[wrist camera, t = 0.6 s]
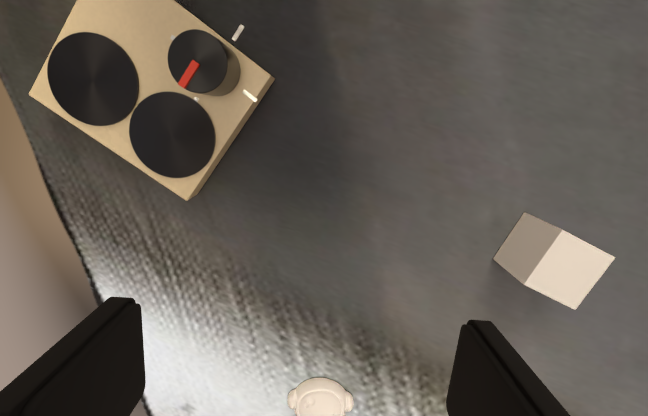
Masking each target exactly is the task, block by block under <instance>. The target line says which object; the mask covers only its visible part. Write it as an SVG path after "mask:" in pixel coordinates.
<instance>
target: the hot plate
mask: <svg viewBox="0 0 648 416" xmlns="http://www.w3.org/2000/svg"><path fill="white" fill-rule="evenodd" d="M244 28H245V27H244V26H243V25H241V24H240V26H239V28H238V29H237V31H236V32H235V34H234V36H233V37H232V39H233V40H234V41H235V42H236V40H237V39H238V37H239V35H240V34H241V32H242V31H243V29H244ZM191 29H199V30H203V31H206V32H208V33H210V34H212V35H213V36H215V37H216V38H217V39H219V40H220V41H221V42H223V43H224V44H225V45H227V46H228V47H229V48H230V49H231V50H232V51H233V52H234V53H235V54H236V56H237V58H238V60H239V63H240V68H241V74H240V79H239V82H238V84H237V86H236V87H235V88H234V89H233V90H232V91H231V92H230V93H228V94H226V95H223V96H210V95H204V94H199V93H194V92H190V91H188V90H186V89H184V88H182V87H181V86H180V85H178V83H177V82H176V81H175V79H174V78H173V76H172V75H171V72H170V70H169V66H168V50H169V47H170V45H171V43H172V41H173V40H174V39H175V37H176V36H178V35H179V34H180V33H182V32H184V31H186V30H191ZM78 32H92V33H97V34H100V35H103V36H105V37H107V38H109V39H111V40H113V41H114V42H116V43H117V44H118V45H119V46H121V47H122V48H123V49H124V50H125V51H126V53H127V54H128V55H129V57H130V58H131V60H132V62H133V64H134V66H135V68H136V71H137V74H138V78H139V95H138V100H137V103H136V105H135V107H134V109H133V110H132V112H131V113H130V114H129V115H128V116H127V117H126V118H125V119H123V120H122V121H120V122H118V123H116V124H113V125H108V126H94V125H89V124H85V123H83V122H80V121H78V120H77V119H75V118H73V117H72V116H70V115H69V114H68V113H67V112H66V111H65V110H64V109H63V108H62V107H61V106H60V105H59V104H58V102H57V101H56V99H55V97H54V96H53V94H52V91H51V89H50V86H49V82H48V76H47V67H48V61H49V57H50V55H51V52H52V50H53V49H54V47H55V46H56V45H57V44H58V42H60V41H61V40H62V39H63V38H65V37H67V36H69V35H71V34H74V33H78ZM52 50H51V52H50V54H49V56H48V58H47V60H46V61H45V63H44V65H43V67H42V69H41V71H40V73H39V75H38V77H37V79H36V81H35V83H34V85H33V87H32V89H31V91H30V93H29V95H30V96H31V97H33V98H34V99H36V100H37V101H39V102H40V103H42V104H43V105H45V106H46V107H48V108H49V109H51V110H52V111H54V112H55V113H57V114H58V115H60V116H61V117H63V118H64V119H66V120H67V121H69V122H70V123H71V124H73V125H74V126H76V127H77V128H79V129H80V130H82V131H83V132H85V133H86V134H88V135H89V136H91V137H92V138H94V139H95V140H97V141H98V142H100V143H101V144H103V145H104V146H106V147H107V148H109V149H110V150H112V151H113V152H115V153H116V154H118V155H119V156H121V157H122V158H124V159H125V160H127V161H128V162H130V163H131V164H133V165H134V166H136V167H137V168H139V169H140V170H141V171H143V172H144V173H146V174H147V175H149V176H150V177H152V178H153V179H155V180H156V181H158V182H159V183H161V184H162V185H164V186H165V187H167V188H168V189H170V190H171V191H173V192H174V193H176V194H177V195H179V196H180V197H182V198H183V199H185V200H186V201H187V200H189V199H191V198H192V197H194V196H195V195H197V194H198V193H199V191H200V190H201V188H202V187H203V185H204V184H205V182H206V181H207V179H208V178H209V176H210V175H211V173H212V172H213V170H214V169H215V167H216V166H217V165H218V163H219V162H220V160H221V159H222V157H223V156H224V154H225V153H226V151H227V150H228V148H229V147H230V145H231V144H232V142H233V141H234V139H235V138H236V136H237V135H238V133H239V132H240V130H241V129H242V127H243V126H244V124H245V123H246V122H247V120H248V119H249V117H250V116H251V114H252V113H253V111H254V110H255V108H256V107H257V105H258V104H259V102H260V101H261V99H262V98H263V96H264V95H265V93H266V92H267V90H268V89H269V87H270V86H271V84H272V83H273V81H274V80H275V78H274V77H272V76H271V75H270V74H269V73H267V72H266V71H265V70H263V69H262V68H261V67H260V66H258V65H257V64H256V63H254V62H253V61H252V60H251V59H249V58H248V57H247V56H245V55H244V54H243V53H242V52H240V51H239V50H238V49H236V48H235V47H234V46H232V45H231V44H230V43H229V42H227V41H226V40H225V39H223V38H222V37H221V36H220V35H218V34H217V33H216V32H214V31H213V30H212V29H211V28H209V27H208V26H207V25H205V24H204V23H203V22H202V21H200V20H199V19H198V18H196V17H195V16H194V15H193V14H191V13H190V12H189V11H187V10H186V9H185V8H183V7H182V6H181V5H180V4H178V3H177V2H176V1H174V0H77V1H76V3H75V5H74V7H73V9H72V11H71V13H70V15H69V17H68V19H67V21H66V23H65V25H64V26H63V28H62V30H61V32H60V34H59V36H58V38H57V40H56V42H55V44H54V46H53V48H52ZM166 91H168V92H177V93H181V94H184V95H186V96H188V97H191V98H192V99H193V100H195V101H196V102H198V103H199V104H200V105H201V106H202V107H203V108H204V109H205V110H206V112H207V113H208V115H209V116H210V118H211V120H212V123H213V125H214V129H215V134H216V144H215V150H214V153H213V156H212V158H211V159H210V161H209V163H208V164H207V165H206V166H205V167H204V168H203V169H202V170H200V171H199V172H198V173H196V174H194V175H191V176H188V177H184V178H169V177H165V176H162V175H159V174H157V173H155V172H153V171H152V170H150V169H149V168H148V167H146V166H145V165H144V164H143V163H142V162H141V160H140V159H139V158H138V157H137V155H136V153H135V152H134V150H133V147H132V144H131V141H130V136H129V124H130V119H131V116H132V114H133V112H134V110H135V108H136V107H137V105H138V104H139V103H140V102H141V101H142V100H144V99H145V98H146V97H148V96H150V95H152V94H155V93H159V92H166Z"/></svg>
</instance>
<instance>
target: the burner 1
mask: <svg viewBox="0 0 648 416" xmlns="http://www.w3.org/2000/svg"><path fill="white" fill-rule="evenodd" d="M47 76H48V82H49V86H50V89H51V91H52V94H53V96H54V97H55V99H56V101H57V102H58V104H59V105H60V106H61V107H62V108H63V109H64V110H65V111H66V112H67V113H68V114H69V115H70V116H72V117H73V118H75V119H77V120H78V121H80V122H83V123H85V124H89V125H94V126H108V125H113V124H116V123H118V122H120V121H122V120H123V119H125V118H126V117H127V116H128V115H129V114H130V113H131V112H132V110H133V109H134V107H135V105H136V103H137V100H138V95H139V78H138V74H137V71H136V68H135V66H134V64H133V62H132V60H131V58H130V57H129V55H128V54H127V53H126V51H125V50H124V49H123V48H122V47H121V46H119V45H118V44H117V43H116V42H114V41H113V40H111V39H109V38H107V37H105V36H103V35H100V34H97V33H92V32H78V33H74V34H71V35H69V36H67V37H65V38H63V39H62V40H61V41H60V42H58V44H57V45H56V46H55V47H54V49H53V50H52V52H51V55H50V57H49V61H48V67H47Z"/></svg>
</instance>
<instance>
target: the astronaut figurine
mask: <svg viewBox="0 0 648 416" xmlns="http://www.w3.org/2000/svg"><path fill="white" fill-rule="evenodd" d="M287 403H288V406H289V407H290V408H291V409H294V408H295V414H296V416H345V411H347V412H349V411H351V410H352V408H353V405H354V402H353V398H352V395H351V394H350V393H349V392H347V391H345V389H344V388H343V387H342V386H341V385H340V384H339V383H337V382H335V381H333V380H330V379H327V378H312V379H309V380H306V381H304V382H303V383H301V384H300V385H299V386H298V387H297V388H296V389H294V390H292V391H291V392H290V393H289V395H288V401H287Z"/></svg>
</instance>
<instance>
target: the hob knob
mask: <svg viewBox="0 0 648 416" xmlns="http://www.w3.org/2000/svg"><path fill="white" fill-rule="evenodd" d="M168 66H169V70H170V72H171V75H172V76H173V78H174V79H175V81H176V82H177V83H178V85H180V86H181V87H182V88H184V89H186V90H188V91H190V92H194V93H199V94H204V95H210V96H223V95H226V94H228V93H230V92H231V91H232V90H233V89H234V88H235V87H236V86H237V84H238V82H239V79H240V74H241V68H240V63H239V60H238V58H237V56H236V54H235V53H234V52H233V51H232V50H231V49H230V48H229V47H228V46H227V45H225V44H224V43H223V42H221V41H220V40H219V39H217V38H216V37H215V36H213V35H212V34H210V33H208V32H206V31H203V30H199V29H191V30H186V31H184V32H182V33H180V34H179V35H178V36H176V37H175V39H174V40H173V41H172V43H171V45H170V47H169V50H168Z"/></svg>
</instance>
